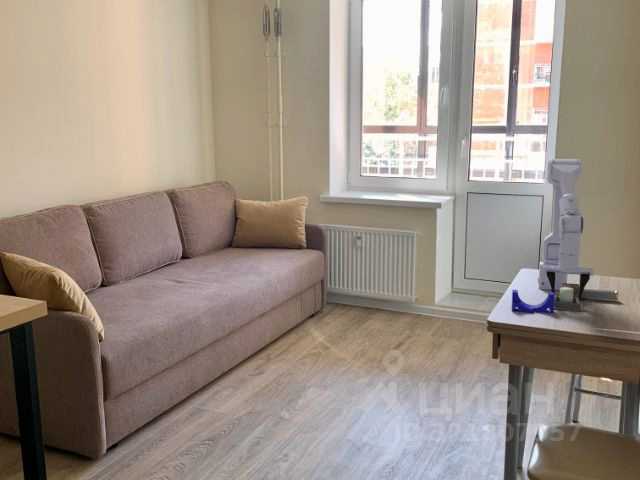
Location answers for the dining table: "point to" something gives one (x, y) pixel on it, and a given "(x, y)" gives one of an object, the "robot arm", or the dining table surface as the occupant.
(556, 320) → the dining table surface
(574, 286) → the brown wooden block
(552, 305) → the blue semicircular bracket
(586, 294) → the shaft
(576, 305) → the cradle
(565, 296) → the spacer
